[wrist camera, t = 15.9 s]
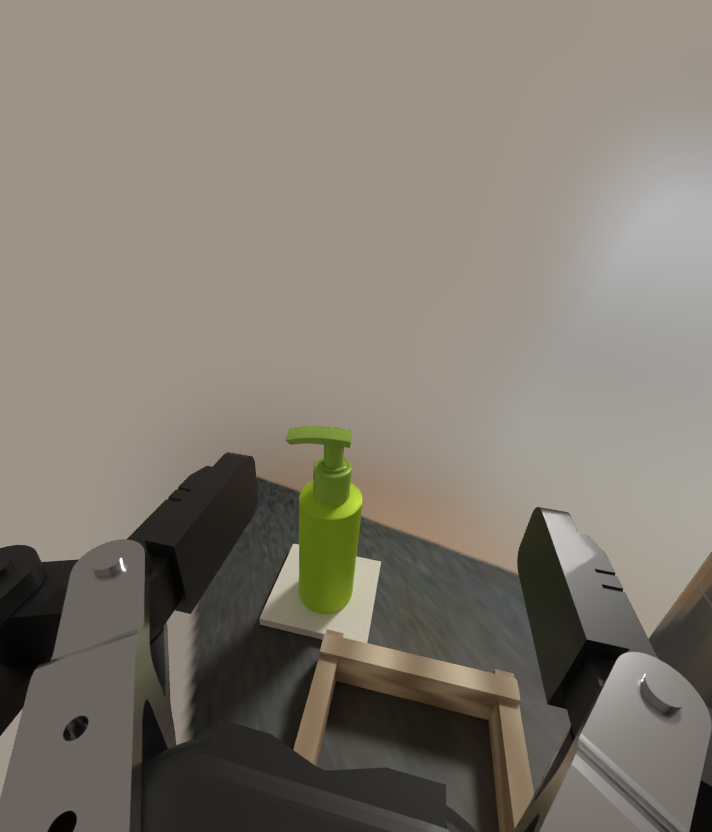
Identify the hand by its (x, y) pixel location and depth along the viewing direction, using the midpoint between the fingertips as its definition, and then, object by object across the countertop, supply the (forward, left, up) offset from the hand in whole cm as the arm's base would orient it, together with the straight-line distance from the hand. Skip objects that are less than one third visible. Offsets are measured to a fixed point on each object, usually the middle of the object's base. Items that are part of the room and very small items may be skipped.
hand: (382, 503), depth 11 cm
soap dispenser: (+6, -18, -29) cm, 35 cm away
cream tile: (+6, -18, -30) cm, 35 cm away
